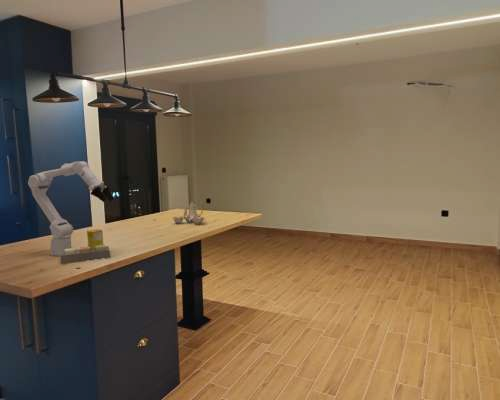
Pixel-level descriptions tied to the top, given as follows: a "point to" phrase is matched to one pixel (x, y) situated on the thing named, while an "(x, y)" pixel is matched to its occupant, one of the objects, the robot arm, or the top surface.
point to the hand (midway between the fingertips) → (108, 200)
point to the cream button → (69, 251)
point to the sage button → (100, 247)
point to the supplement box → (95, 238)
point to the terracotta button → (85, 249)
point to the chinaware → (190, 216)
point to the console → (84, 255)
